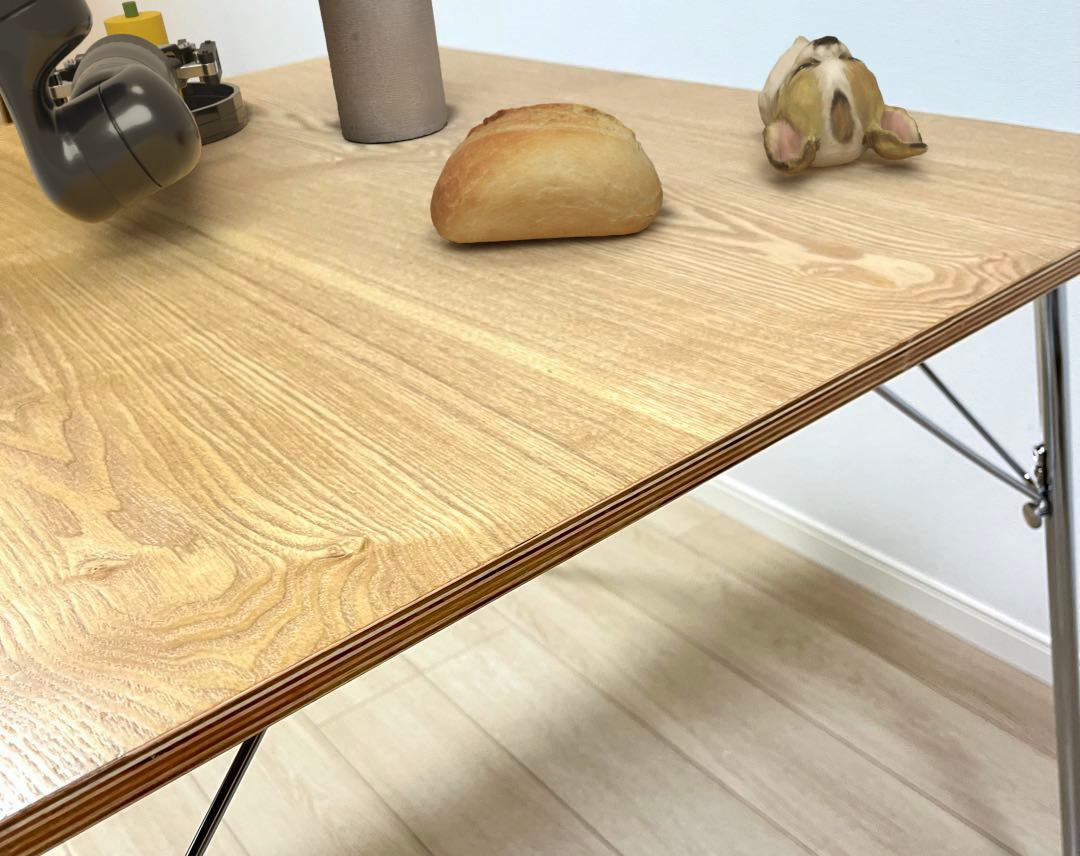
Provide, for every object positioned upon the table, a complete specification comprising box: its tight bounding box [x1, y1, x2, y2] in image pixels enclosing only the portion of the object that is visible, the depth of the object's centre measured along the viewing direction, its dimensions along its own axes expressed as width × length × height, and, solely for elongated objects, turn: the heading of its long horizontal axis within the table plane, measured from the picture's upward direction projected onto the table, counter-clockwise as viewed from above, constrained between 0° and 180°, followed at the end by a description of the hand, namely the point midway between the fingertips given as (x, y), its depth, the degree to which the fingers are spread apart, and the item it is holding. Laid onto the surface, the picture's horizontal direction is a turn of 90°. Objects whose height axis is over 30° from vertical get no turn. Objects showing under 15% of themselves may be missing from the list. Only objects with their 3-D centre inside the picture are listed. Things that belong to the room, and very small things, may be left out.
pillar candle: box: [317, 0, 448, 144], centre depth 99 cm, size 10×10×15 cm
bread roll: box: [429, 102, 664, 244], centre depth 73 cm, size 10×15×8 cm, turn 93°
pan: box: [181, 80, 248, 146], centre depth 109 cm, size 16×16×3 cm
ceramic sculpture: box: [757, 35, 929, 175], centre depth 80 cm, size 11×9×15 cm
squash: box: [103, 0, 184, 100], centre depth 107 cm, size 5×5×11 cm
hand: (135, 59), depth 99 cm, fingers open, 8 cm apart
